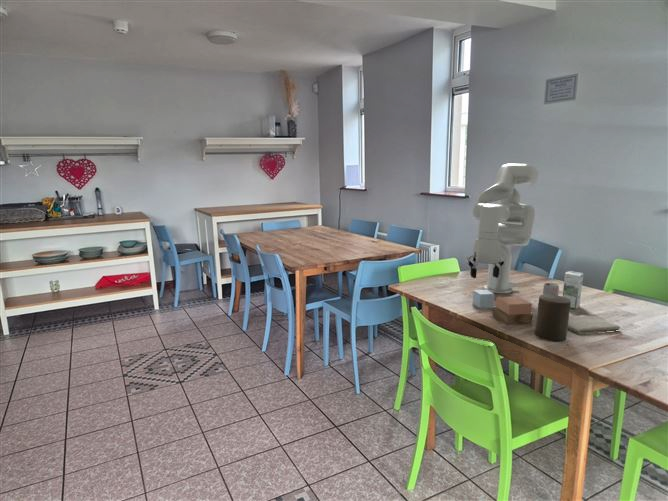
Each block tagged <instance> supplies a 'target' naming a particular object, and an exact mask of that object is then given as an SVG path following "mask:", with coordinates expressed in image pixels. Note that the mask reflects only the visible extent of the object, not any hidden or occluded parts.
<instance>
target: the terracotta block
mask: <svg viewBox="0 0 668 501" xmlns="http://www.w3.org/2000/svg"><path fill="white" fill-rule="evenodd" d="M495 299H496V300H495V307H496V308H498V309H500V310H501V311H503V312H505V313H506V314H508V315H517V314H532V308H533V302H531V301H528V300H526V299H524V298H522V297H520V296H518V295H514V296H496V298H495Z"/></svg>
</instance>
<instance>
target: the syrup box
mask: <svg viewBox="0 0 668 501" xmlns="http://www.w3.org/2000/svg"><path fill="white" fill-rule="evenodd" d="M583 281H584V273H583V272H579V271H578V272H577V271H573V270H567V271H566V272H565V273H564V280H563V287H562V288H563V289H562V295H561V296H562V297H566V298H569V299H570V300H571V304H570V309H572V308H574V309H573V310H577V309H578V308H579V307H580V304H581V295H582V288H583ZM576 308H577V309H576Z"/></svg>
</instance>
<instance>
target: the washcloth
mask: <svg viewBox="0 0 668 501" xmlns="http://www.w3.org/2000/svg"><path fill="white" fill-rule="evenodd" d="M567 328H568V329H569V331H570V330H571V332H572V331H573V332H572V333H574V332H575V334H576V333H577V334H576V335H587V334H586V333H593V334H599V333H598V332H606V333H608V332H607V331H616V330H620V329H621V327H620V325H618V324H616V323H613V322H610V321H608V320H606V319H604V318H603V317H600V316H598V315H592V316H591V315H585V314H581V315H569V320H568V327H567ZM568 329H567V330H568Z"/></svg>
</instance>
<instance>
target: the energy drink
mask: <svg viewBox="0 0 668 501" xmlns="http://www.w3.org/2000/svg"><path fill="white" fill-rule="evenodd" d="M559 289H560V287H559V284H557V283H554V282H545V283H544V285H543V289H542V295H543V294H549V295H558V296H559V292H560V291H559Z"/></svg>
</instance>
